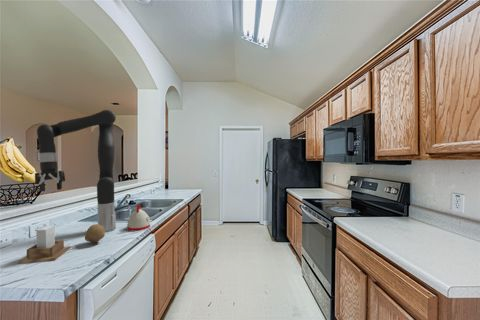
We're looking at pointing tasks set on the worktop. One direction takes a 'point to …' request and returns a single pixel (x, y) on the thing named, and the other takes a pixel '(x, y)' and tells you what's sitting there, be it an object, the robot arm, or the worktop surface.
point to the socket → (45, 253)
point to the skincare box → (45, 237)
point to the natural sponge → (94, 233)
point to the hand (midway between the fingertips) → (51, 190)
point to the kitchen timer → (138, 220)
